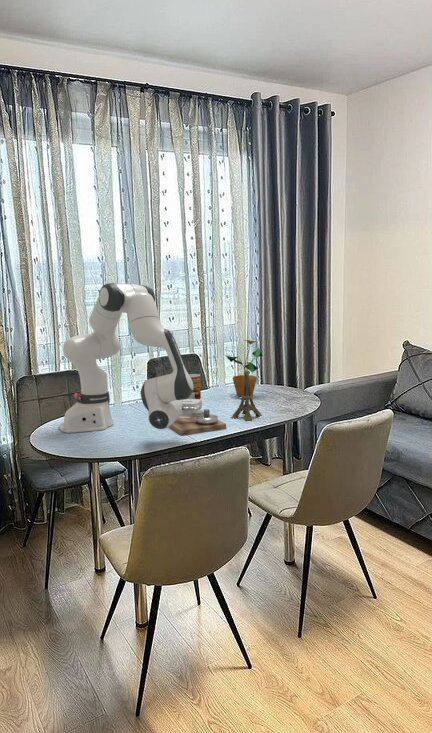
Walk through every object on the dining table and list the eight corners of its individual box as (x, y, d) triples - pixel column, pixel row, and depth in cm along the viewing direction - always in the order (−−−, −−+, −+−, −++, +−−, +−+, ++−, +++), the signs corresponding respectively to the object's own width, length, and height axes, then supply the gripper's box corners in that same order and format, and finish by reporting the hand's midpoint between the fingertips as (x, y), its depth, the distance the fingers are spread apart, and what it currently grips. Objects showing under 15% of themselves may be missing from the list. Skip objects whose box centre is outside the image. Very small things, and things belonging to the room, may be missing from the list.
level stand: (181, 435, 225) (180, 404, 223) (159, 420, 248) (158, 391, 245) (226, 428, 234) (225, 398, 232) (201, 414, 256) (200, 386, 254)
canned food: (190, 401, 282) (190, 377, 279) (182, 398, 288) (181, 375, 286) (203, 398, 286) (203, 375, 284) (194, 396, 292) (194, 373, 290)
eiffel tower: (244, 413, 258) (244, 358, 254) (263, 416, 251) (263, 361, 247) (230, 418, 250) (229, 362, 246) (249, 422, 244) (249, 364, 239)
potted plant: (268, 399, 283) (268, 339, 278) (232, 402, 279) (231, 341, 273) (256, 391, 300) (256, 335, 295) (222, 394, 296) (221, 336, 290)
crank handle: (168, 423, 235) (167, 394, 232) (174, 417, 243) (173, 390, 241) (215, 425, 231) (215, 396, 229) (219, 419, 240) (218, 391, 238)
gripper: (197, 400, 208) (205, 392, 221) (144, 400, 212) (154, 392, 225) (198, 417, 209) (205, 408, 222) (144, 416, 213) (155, 407, 226)
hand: (179, 400), depth 224 cm, fingers closed
